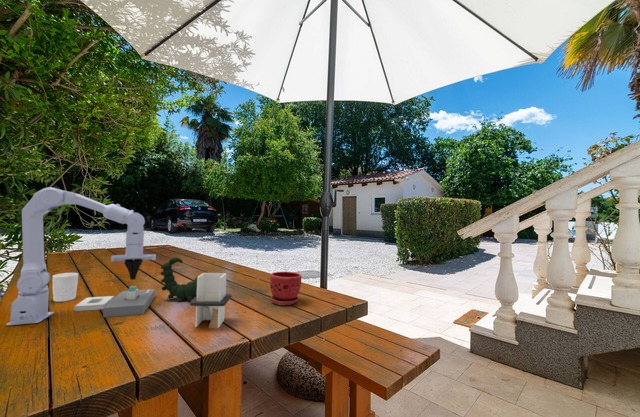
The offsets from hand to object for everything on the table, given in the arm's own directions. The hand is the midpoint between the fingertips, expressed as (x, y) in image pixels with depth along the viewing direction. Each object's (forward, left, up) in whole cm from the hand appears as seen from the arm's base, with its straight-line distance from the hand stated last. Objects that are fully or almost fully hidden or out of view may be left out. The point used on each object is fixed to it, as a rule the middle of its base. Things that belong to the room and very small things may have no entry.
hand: (133, 279), depth 110 cm
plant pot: (-11, -58, -11) cm, 60 cm away
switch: (0, 0, -10) cm, 10 cm away
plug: (0, 0, -10) cm, 10 cm away
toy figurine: (+2, -21, -11) cm, 24 cm away
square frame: (+4, +13, -10) cm, 17 cm away
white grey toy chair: (-27, -28, -11) cm, 40 cm away
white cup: (+16, +27, -11) cm, 33 cm away
